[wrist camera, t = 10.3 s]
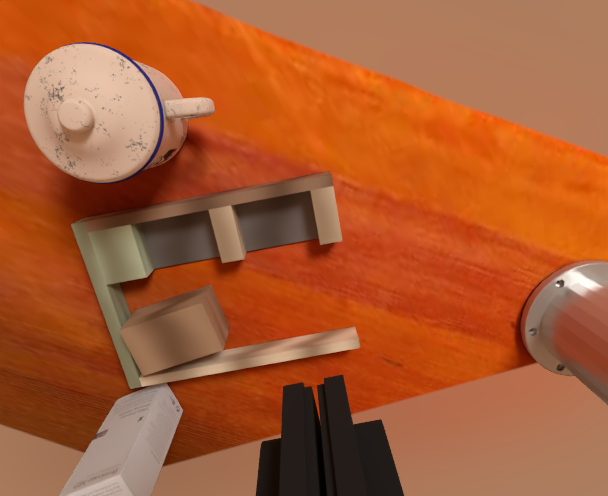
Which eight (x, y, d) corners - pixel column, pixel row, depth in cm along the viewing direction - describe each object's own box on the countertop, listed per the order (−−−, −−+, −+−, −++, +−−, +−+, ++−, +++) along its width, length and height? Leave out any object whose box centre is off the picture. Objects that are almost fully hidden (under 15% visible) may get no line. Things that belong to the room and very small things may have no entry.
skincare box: (165, 378, 44) (119, 471, 32) (185, 411, 45) (149, 511, 34) (114, 399, 44) (51, 497, 33) (135, 431, 46) (82, 536, 34)
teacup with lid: (100, 175, 38) (19, 198, 26) (73, 66, 35) (-29, 41, 24) (232, 161, 38) (207, 178, 26) (215, 51, 35) (180, 18, 24)
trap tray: (328, 171, 38) (331, 174, 36) (356, 335, 43) (360, 347, 41) (84, 217, 39) (70, 224, 36) (139, 374, 44) (130, 388, 41)
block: (211, 283, 41) (201, 302, 37) (230, 327, 43) (223, 349, 38) (136, 309, 42) (118, 330, 37) (158, 350, 43) (143, 376, 39)
